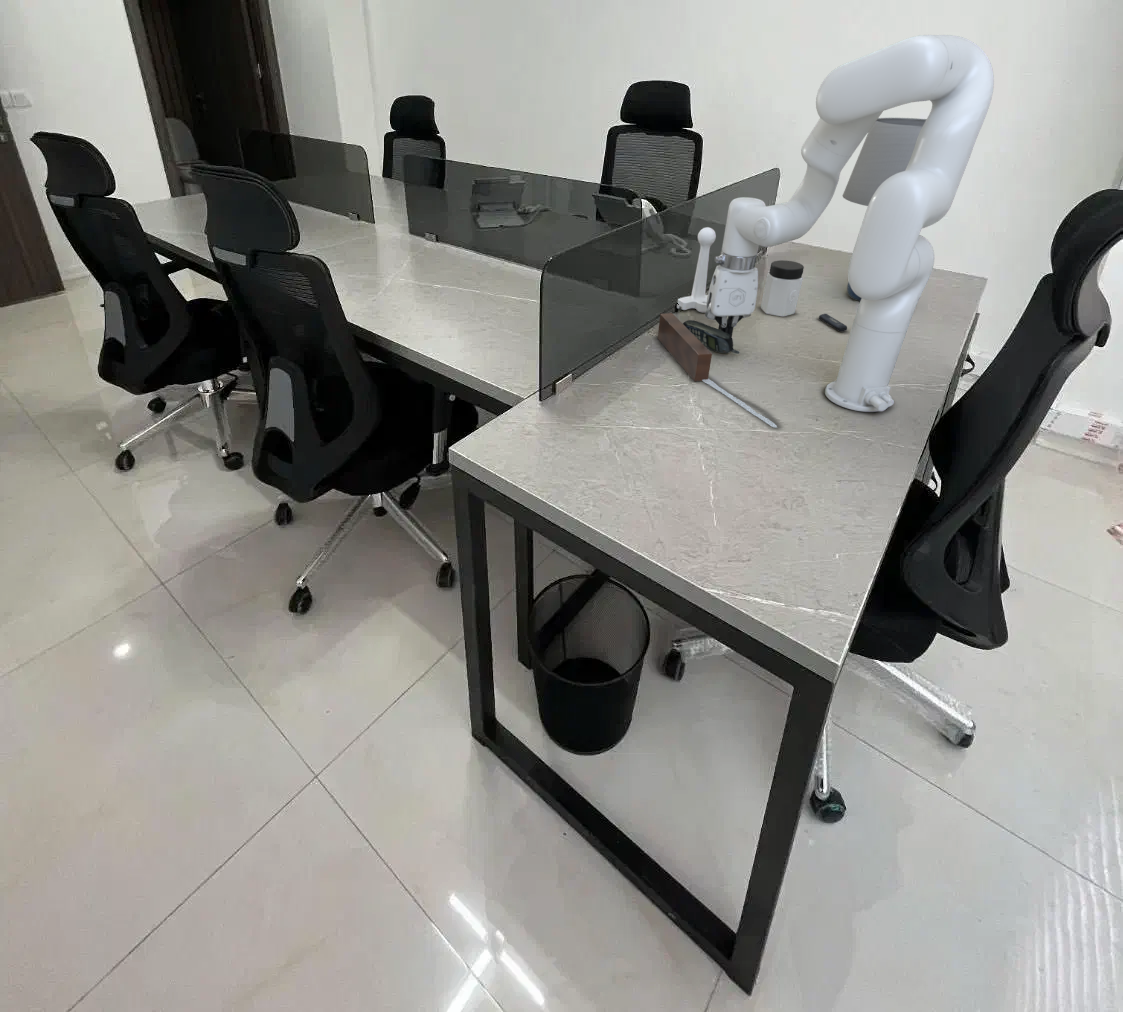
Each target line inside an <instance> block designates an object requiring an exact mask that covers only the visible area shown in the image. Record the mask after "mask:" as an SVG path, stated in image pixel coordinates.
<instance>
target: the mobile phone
mask: <svg viewBox="0 0 1123 1012" xmlns="http://www.w3.org/2000/svg"><path fill="white" fill-rule="evenodd" d="M682 324H683V325H684V326H685V327H686V328H687V329H688V330H689V331H690V332H691V333H692V334H693V335H694V336H695V337H696V338H697V339H698V340H699V341H700V342H701V343H702V344H703V345H704V346H705V347H706V348H707V349H708V350H709V351H712V352H714V353H719V354H720V353H721V354H729V353H733V354H736V355H740V353H741V352H740V351H739V350H736V349H734V339H733V336H732V337H731V336H730V335H729V334H727V333H725V332H723V331H721V330H719V329H718V327H713V326H711V325H708V324H705V323H703V322H701V321H697V320H693V319H688V320H685V321H684V322H682Z"/></svg>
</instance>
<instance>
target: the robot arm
mask: <svg viewBox="0 0 1123 1012" xmlns="http://www.w3.org/2000/svg"><path fill="white" fill-rule="evenodd" d="M994 88H995V75H994V70H993V65H992V63H991V61H990V58H989V57H988V55H987V54H986V52H985V51H984V50H983V49H982V48H981V46H979V45H978V44H977V43H975V42H974V41H972V40H970V39H968V38H966V37H964V36H959V35H953V34H922V35H921V34H919V35H914V36H911V37H908V38H906V39H902V40H900V41H897V42H895V43H893V44H890V45H887V46H885V47H882V48H879V49H878V50H875V51H873V52H871V53H868V54H865V55H863V56H861V57H858V58H855V59H853V60H850V61H848V62H846V63H843V64H841V65H839V66H837V67H835V68H834V69H833V70H831V71H830V72H829V73H828V74H827V76H826V77H824V78H823V81H822V82H821V84H820V86H819V88H818V90H817V94H816V98H815V108H816V112H817V115H818V116H819V119H818V121H817V122H816V124H815V125H814V127H813V128H812V130H811V131H810V132H809V135H808V136H807V138H806V139H805V140H804V142H803V144H802V146H801V149H800V153H801V156H802V159H803V161H804V162H805V164H806V171H805V174H804V176H803V179H802V181H801V182H800V184H799V186H797V189H796V190H795V191H794V193H793V194H792V196H791V197H790V198H789V199H788V201H786V202H780V203H776V204H773V205H766V203H765V201H764V200H762V199H760V198H755V197H747V196H744V197H743V196H741V197H737V198H734V199H732V200H731V201H730V203H729V205H728V209H727V215H726V222H725V227H724V228H725V229H724V234H723V239H722V246H721V251H720V253H719V255H717V256H714V258H713V259H714V260H713V261H714V263H715V264H718V265H716V267H715V270H714V272H713V274H712V278H711V281H710V284H709V288H708V292H707V295H708V297H707V305H706V306H707V311H706V313H704V316H705V318H706V319H708V320H711V321H712V320H713V321H715V322H716V323H717V324H718V327H717V329H719V330H721V331H723V332H725V333H727V334H729V335H730V336H731V337H732V338H733V334H734V329H735V327H737V325H738V323H739V322H740V321H741V320H743V319H745V318H749V317H751V316H752V314H753V313H754V312H755V308H756V304H757V298H758V288H759V268H757V267H756V262H757V256H758V254H759V253H758V252H759V247H763V248H773V247H776V246H779V245H782V244H784V243H785V244H786V243H788V242H793V241H795V240H798V239H801V238H802V237H803V236H805V235H806V234H807V233H808V232H809V231H810V230H811V229H812V228H813V227H814V225H815V224H816V223H817V221H818V220H819V218H820V217H821V216H822V215H823V213H824V212H825V211H826V209H827V207H828V206H829V204H830V203H831V201H832V199H833V197H834V195H835V192H836V189H837V187H838V184H839V180H840V178H841V177H840V176H841V172H842V170H843V169H844V168H845V166H846V165H847V163H848V162H849V160H850V159H851V157H852V156H853V154H854V153H855V152H856V150H857V149H858V147H859V146H860V145H861V143H862V142H863V140H865V138H866V137H867V134H868V132H869V130H870V129H871V128H872V126H873V125H874V123H875V122H876V121H877V119H878V118H880V117H881V115H882V114H883V112H885V111H888V110H890V109H893V108H897V107H900V106H903V105H907V104H911V103H919V102H927V101H930V102H931V110H930V112H929V114H928V116H927V118H926V119H927V120H926V121H925V123H924V125H923V127H922V129H921V131H920V133H919V135H918V138H917V140H916V144H915V147H914V150H913V153H912V156H911V158H910V161H909V163H908V166H907V168H906V170H905V171H902V172H899V173H897V174H895V175H893V176H891V177H889V178H888V179H886V180H885V181H884V182H883V183H882V184H881V185H880V186H879V187H878V189H877V190H876V191H875V193H874V195H873V196H872V198H871V200H870V202H869V205H868V206H866V211H865V213H864V215H863V216H864V217H863V219H862V222H861V225H860V228H859V232H858V235H857V238H856V241H855V244H854V246H853V250H852V253H851V256H850V260H849V264H848V268H847V269H848V270H847V280H848V282H849V284H850V287H851V289H852V290H853V292H854V293H855V294H856V295H857V296H859V297H861V298H862V299H861V301H859V303H858V306H857V310H856V313H855V315H854V319H853V322H852V326H851V329H850V332H849V337H848V339H847V343H846V346H845V350H844V353H843V357H842V360H841V363H840V366H839V369H838V373H837V377H836V379H835V380H833V381H831V382H829V383H827V385H826V386H825V390H824V395H825V396H826V398H827V399H828V401H830V402H832V404H833V403H834V404H835V405H837V406H839V407H842V408H844V409H848V410H852V411H855V412H864V413H876V412H885V411H886V409H888V408H890V407H892V406H893V405H894V404H895V400H894V399H893V398H892V395H891V394H890V390H891V388H892V387H891V386H890V385H889V384H890V381H891V377H892V375H893V372H894V369H895V366H896V363H897V361H898V358H899V355H900V352H901V350H902V346H903V343H904V341H905V337H906V335H907V332H908V330H909V327H910V324H911V320H912V318H913V316H914V313H915V310H916V308H917V305H918V302H919V300H920V298H921V297H922V294H923V292H924V290H925V287H926V286H927V284H928V281H929V279H930V278H931V275H932V273H933V270H934V264H935V252H934V251H935V250H934V247H933V246H932V243H931V242H930V240H929V239H927V238H926V237H925V236H923V235H921V231H922V229H925V228H928V227H930V226H933V225H935V224H936V223H938V222H940V221H941V220H942V219H944V217H945V216H947V213H948V212H949V210H950V209H951V208H952V205H953V203H954V200H955V197H956V195H957V192H958V188H959V186H960V184H961V181H962V179H963V176H964V174H965V171H966V169H967V166H968V163H969V161H970V158H971V155H972V152H973V150H974V148H975V147H974V146H975V144H976V142H977V140H978V137H979V135H980V131H981V130H982V127H983V125H984V122H985V119H986V117H987V114H988V111H989V109H990V105H991V101H992V98H993V93H994Z"/></svg>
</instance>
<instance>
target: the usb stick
mask: <svg viewBox="0 0 1123 1012" xmlns="http://www.w3.org/2000/svg"><path fill="white" fill-rule="evenodd" d="M818 319H819V320H820V321H822V322H824V323H825V324H826V325H828V326H830V327H832V328H833V329H834V330H837V331H838V332H840V333H841V332H846V331H847V330H848V326H847V325H846V324H844V323H842V322H841V321H839V320H838V319H836V318H834V316H831V315H829V314H828V313H821V314H820V315H819V316H818Z"/></svg>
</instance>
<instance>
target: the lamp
mask: <svg viewBox="0 0 1123 1012" xmlns="http://www.w3.org/2000/svg"><path fill="white" fill-rule="evenodd" d="M926 120H927V118H916V117H914V118H913V117H879V118H878V119H877V121H876V122H875V123H874V125H873V126H872V128H871V129H870V130H869V132H868V133H867V134H866V136H865V138H864V142H863V144H862V147H861V149H860V152H859V154H858V156H857V159H856V161H855V164H854V166H853V169H852V171H851V174H850V176H849V179H848V180H847V183H846V186H845V188H844V191H843V193H842V198H843V199H845V200H846V201H848V202H850V203H854V204H855V205H856V204H857V205H860V206H863V207H864V206H866V207H868V205H869V202H870V200H871V198H872V196H873V195H874V193H875V191H876V190H877V189H878V187H879V186H880V185H881V184H882V183H883V182H884V181H885V180H886V179H888V178H889V177H891V176H893V175H895V174H897V173H899V172H902V171H905V170H906V168H907V166H908V163H909V161H910V158H911V156H912V153H913V150H914V147H915V144H916V140H917V138H918V135H919V133H920V131H921V129H922V127H923V125H924V123H925V121H926ZM846 290H847V291H846V293H847V295H848V296H849V297H850V298H851V299H853V300H855V301H858V302H860V301H861V299H862V298H861V297H859V296H857V295H856V294H855V293H854V292H853V290H852V289H851V287H850V284H849V281H848V282H847V286H846Z"/></svg>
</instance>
